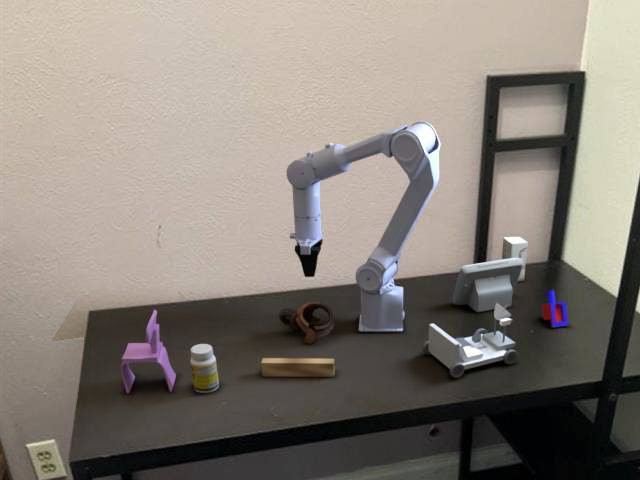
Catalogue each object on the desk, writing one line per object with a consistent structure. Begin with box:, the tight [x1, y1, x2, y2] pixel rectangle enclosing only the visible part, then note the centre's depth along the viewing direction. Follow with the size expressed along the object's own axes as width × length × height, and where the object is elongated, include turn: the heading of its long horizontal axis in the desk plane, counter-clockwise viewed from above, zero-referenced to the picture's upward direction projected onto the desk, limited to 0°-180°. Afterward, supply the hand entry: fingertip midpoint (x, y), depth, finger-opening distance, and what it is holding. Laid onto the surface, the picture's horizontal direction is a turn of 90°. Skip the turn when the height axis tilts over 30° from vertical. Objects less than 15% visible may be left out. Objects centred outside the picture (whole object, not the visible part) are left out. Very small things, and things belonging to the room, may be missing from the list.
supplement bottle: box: [189, 343, 220, 394], centre depth 146 cm, size 5×5×8 cm
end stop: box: [260, 357, 336, 378], centre depth 152 cm, size 14×2×3 cm, turn 88°
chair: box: [120, 309, 177, 394], centre depth 146 cm, size 8×9×15 cm
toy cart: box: [421, 303, 519, 379], centre depth 156 cm, size 18×10×12 cm
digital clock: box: [451, 258, 523, 313], centre depth 178 cm, size 16×9×11 cm, turn 99°
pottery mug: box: [278, 301, 336, 345], centre depth 166 cm, size 12×10×8 cm
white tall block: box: [501, 235, 529, 282], centre depth 192 cm, size 5×4×10 cm
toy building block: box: [541, 289, 569, 328], centre depth 171 cm, size 4×4×8 cm
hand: (310, 274), depth 173 cm, fingers closed
